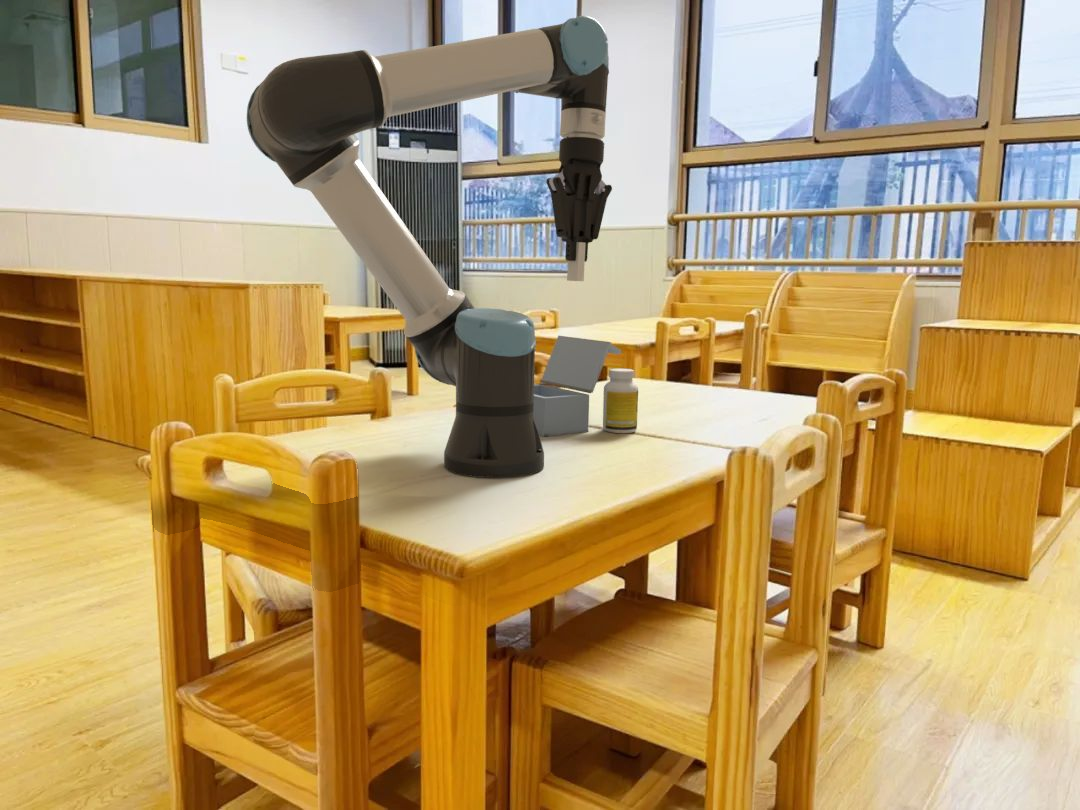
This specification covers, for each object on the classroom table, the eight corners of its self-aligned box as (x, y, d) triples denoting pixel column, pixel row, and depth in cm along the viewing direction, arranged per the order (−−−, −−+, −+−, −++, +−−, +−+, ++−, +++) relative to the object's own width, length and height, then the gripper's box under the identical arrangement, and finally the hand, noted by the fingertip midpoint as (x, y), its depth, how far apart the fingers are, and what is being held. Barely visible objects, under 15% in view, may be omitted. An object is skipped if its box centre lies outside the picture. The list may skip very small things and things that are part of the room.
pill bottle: (638, 434, 150) (640, 372, 148) (603, 433, 150) (605, 371, 148) (635, 428, 156) (637, 368, 155) (601, 427, 157) (603, 367, 155)
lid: (608, 341, 151) (626, 351, 154) (557, 334, 165) (574, 344, 167) (588, 392, 150) (607, 401, 153) (539, 382, 164) (557, 390, 166)
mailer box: (543, 436, 146) (544, 398, 145) (498, 422, 159) (499, 387, 158) (588, 431, 152) (589, 394, 151) (540, 418, 165) (541, 384, 164)
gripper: (566, 130, 129) (559, 279, 133) (625, 142, 137) (617, 282, 141) (537, 136, 135) (532, 278, 139) (596, 147, 143) (589, 281, 147)
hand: (575, 280), depth 140 cm, fingers closed
